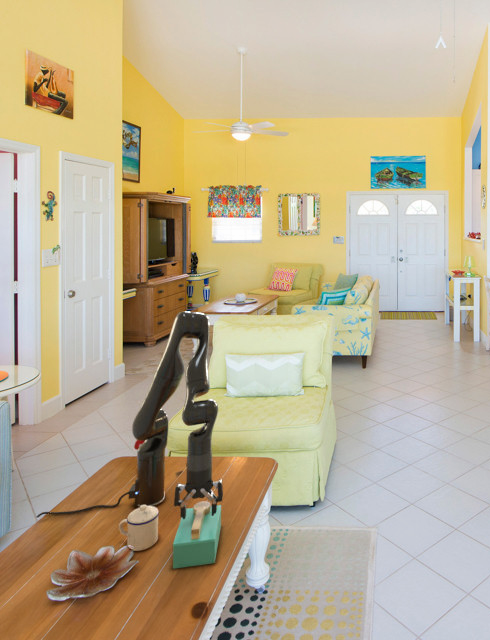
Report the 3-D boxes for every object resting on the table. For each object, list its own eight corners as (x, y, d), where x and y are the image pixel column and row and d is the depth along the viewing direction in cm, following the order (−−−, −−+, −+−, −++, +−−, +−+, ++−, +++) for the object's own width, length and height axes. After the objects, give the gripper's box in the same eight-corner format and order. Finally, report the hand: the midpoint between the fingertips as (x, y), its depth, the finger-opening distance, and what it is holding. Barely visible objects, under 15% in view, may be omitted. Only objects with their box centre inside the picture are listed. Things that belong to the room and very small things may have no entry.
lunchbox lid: (214, 541, 138) (214, 539, 138) (172, 546, 135) (172, 544, 135) (221, 507, 156) (221, 504, 156) (184, 511, 153) (184, 508, 153)
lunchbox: (214, 563, 138) (214, 540, 138) (172, 568, 136) (173, 545, 136) (220, 527, 156) (221, 507, 156) (184, 531, 153) (184, 511, 153)
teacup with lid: (163, 533, 152) (163, 498, 152) (150, 552, 143) (150, 514, 143) (126, 533, 152) (127, 497, 152) (111, 552, 143) (111, 514, 143)
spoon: (204, 538, 138) (204, 528, 138) (185, 540, 137) (185, 530, 137) (211, 506, 155) (211, 497, 155) (194, 508, 153) (194, 499, 153)
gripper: (224, 457, 151) (223, 506, 151) (177, 461, 148) (176, 511, 148) (222, 468, 144) (221, 520, 144) (172, 472, 141) (171, 526, 140)
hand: (198, 516), depth 146 cm, fingers open, 8 cm apart
